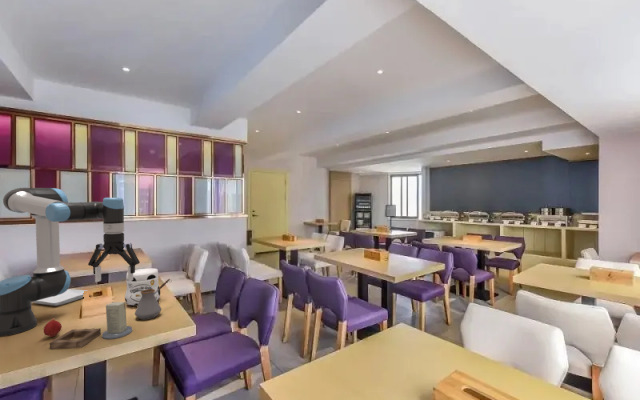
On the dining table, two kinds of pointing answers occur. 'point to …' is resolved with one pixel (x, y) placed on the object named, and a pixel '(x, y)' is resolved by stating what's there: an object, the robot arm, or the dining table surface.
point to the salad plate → (62, 298)
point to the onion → (52, 328)
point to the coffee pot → (148, 304)
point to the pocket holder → (78, 343)
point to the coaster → (117, 334)
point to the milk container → (141, 285)
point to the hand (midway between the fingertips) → (114, 281)
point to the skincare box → (116, 317)
